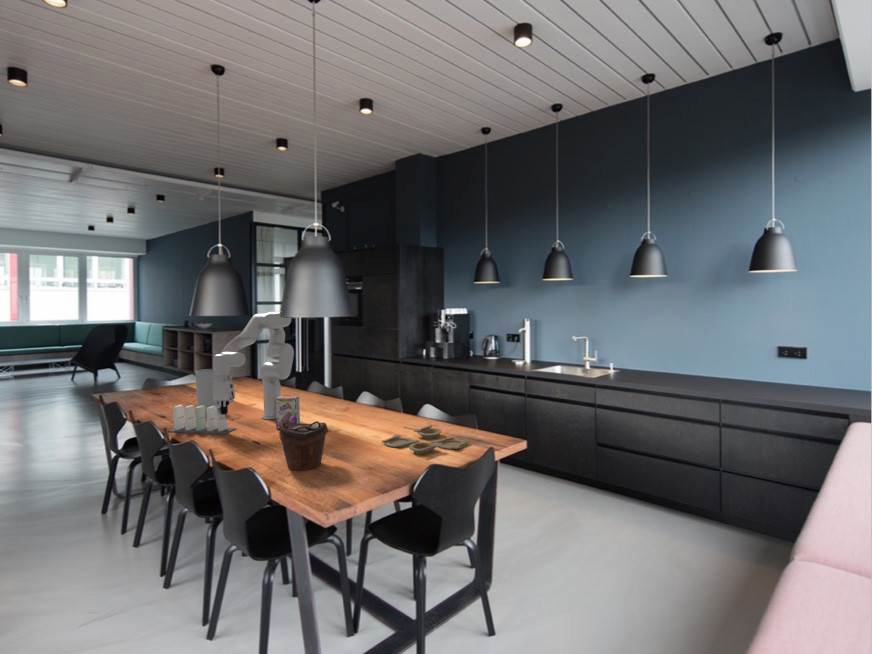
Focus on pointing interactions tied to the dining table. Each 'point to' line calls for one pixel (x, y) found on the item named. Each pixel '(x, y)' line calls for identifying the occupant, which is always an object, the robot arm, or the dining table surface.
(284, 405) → the candy bar box
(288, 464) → the brown basket
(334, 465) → the dining table surface
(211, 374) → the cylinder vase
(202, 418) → the domino
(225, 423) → the domino
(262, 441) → the dining table surface
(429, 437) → the tableware set
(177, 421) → the domino
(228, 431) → the rubber mat
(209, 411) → the domino
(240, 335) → the robot arm
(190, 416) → the domino
